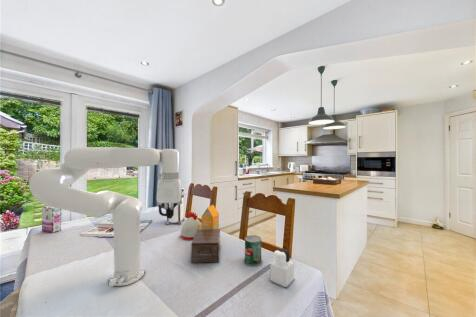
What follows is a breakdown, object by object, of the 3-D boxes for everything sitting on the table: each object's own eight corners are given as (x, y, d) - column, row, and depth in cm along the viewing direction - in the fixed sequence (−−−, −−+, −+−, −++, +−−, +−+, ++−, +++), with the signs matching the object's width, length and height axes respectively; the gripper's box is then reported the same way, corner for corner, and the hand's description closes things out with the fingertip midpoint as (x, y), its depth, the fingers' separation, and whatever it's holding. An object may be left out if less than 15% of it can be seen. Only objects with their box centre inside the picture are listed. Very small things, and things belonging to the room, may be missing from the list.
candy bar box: (61, 230, 135) (61, 206, 135) (52, 233, 130) (52, 208, 130) (50, 228, 139) (50, 205, 138) (41, 231, 134) (41, 206, 134)
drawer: (216, 266, 89) (216, 250, 89) (190, 267, 88) (190, 250, 88) (218, 245, 110) (218, 232, 110) (197, 246, 109) (197, 232, 109)
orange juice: (201, 240, 119) (201, 207, 119) (207, 234, 128) (207, 203, 127) (213, 242, 117) (213, 208, 117) (219, 236, 125) (219, 204, 125)
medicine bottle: (278, 272, 86) (278, 245, 86) (293, 279, 81) (294, 250, 81) (269, 280, 80) (269, 251, 80) (286, 288, 76) (286, 256, 76)
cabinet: (218, 262, 95) (218, 242, 95) (191, 262, 94) (191, 243, 94) (220, 245, 112) (220, 229, 112) (197, 245, 112) (197, 229, 112)
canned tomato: (264, 260, 96) (264, 237, 96) (256, 267, 90) (256, 243, 90) (250, 255, 101) (250, 234, 101) (241, 262, 94) (241, 239, 94)
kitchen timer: (192, 241, 117) (192, 216, 117) (176, 236, 124) (176, 213, 124) (207, 234, 129) (207, 211, 129) (192, 230, 136) (192, 208, 136)
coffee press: (179, 217, 163) (179, 181, 163) (188, 222, 151) (188, 183, 151) (158, 222, 152) (158, 183, 152) (166, 227, 140) (165, 185, 140)
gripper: (149, 177, 84) (149, 220, 84) (184, 177, 85) (184, 220, 85) (155, 175, 92) (155, 215, 92) (188, 175, 92) (188, 215, 93)
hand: (169, 217), depth 88 cm, fingers closed
